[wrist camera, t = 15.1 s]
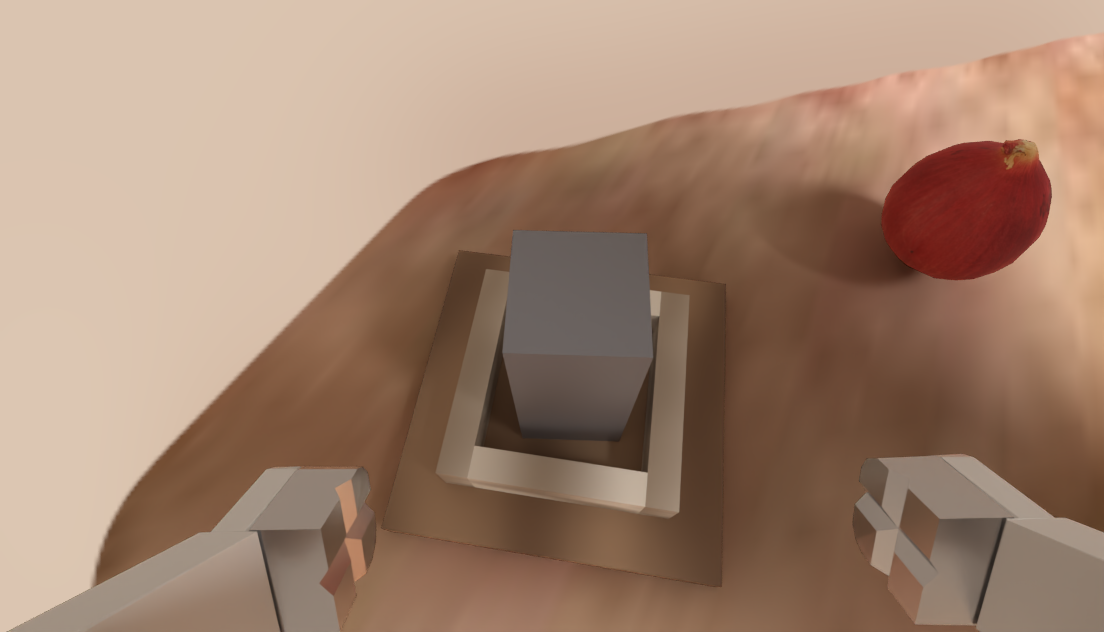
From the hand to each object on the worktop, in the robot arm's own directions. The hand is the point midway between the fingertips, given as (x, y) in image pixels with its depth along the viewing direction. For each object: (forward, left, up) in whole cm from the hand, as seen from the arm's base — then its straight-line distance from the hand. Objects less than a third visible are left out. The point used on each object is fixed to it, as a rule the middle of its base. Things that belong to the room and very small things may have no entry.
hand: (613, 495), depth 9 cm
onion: (-15, -16, -14) cm, 26 cm away
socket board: (+1, -6, -14) cm, 15 cm away
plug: (+1, -6, -13) cm, 14 cm away
